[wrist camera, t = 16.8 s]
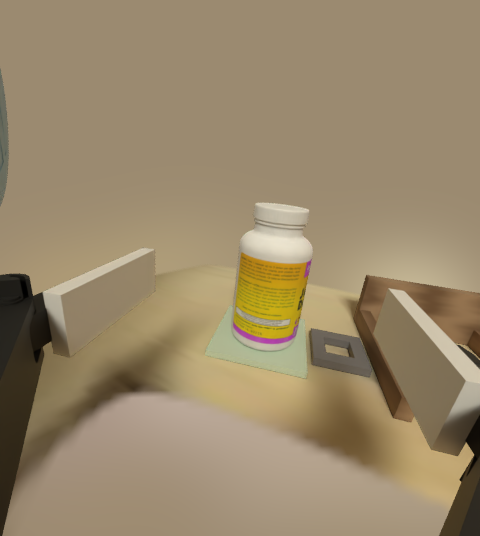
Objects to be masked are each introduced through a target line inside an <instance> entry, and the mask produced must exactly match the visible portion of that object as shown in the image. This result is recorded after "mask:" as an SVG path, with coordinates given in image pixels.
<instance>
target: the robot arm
mask: <svg viewBox="0 0 480 536" xmlns="http://www.w3.org/2000/svg"><path fill="white" fill-rule="evenodd" d="M7 173H8V123H7V111H6V101H5V94H4V86H3V81H2V75H1V70H0V206H1V203H2V200H3V197H4V193H5V188H6V183H7ZM154 292H155V250H154V249H149V248H141V249H139V250H137V251H134V252H132V253H130V254H127V255H125V256H123V257H121V258H118V259H116V260H114V261H111V262H109V263H107V264H105V265H102V266H100V267H98V268H95V269H93V270H91V271H89V272H86V273H84V274H82V275H80V276H77V277H75V278H73V279H70V280H68V281H66V282H63V283H61V284H59V285H57V286H54V287H52V288H50V289H47V290H45V291H43V292H42V293H39V294H37V295H35V296H33V294H32V289H31V284H30V278H29V276H27V275H25V274H6V275H0V536H2V534H3V530H4V525H5V521H6V517H7V512H8V508H9V504H10V500H11V495H12V491H13V487H14V482H15V478H16V474H17V469H18V465H19V461H20V457H21V452H22V448H23V444H24V439H25V435H26V431H27V426H28V422H29V418H30V414H31V409H32V405H33V401H34V396H35V392H36V388H37V383H38V379H39V375H40V370H41V366H42V362H43V358H44V351H43V346H44V345H46V344H47V343H49V342H50V341H51V342H52V348H53V353H54V354H57V355H61V356H65V357H69V358H70V357H72V356H73V355H74V354H76V353H77V352H78V351H79V350H81V349H82V348H83V347H84V346H86V345H87V344H88V343H90V342H91V341H92V340H93V339H95V338H96V337H97V336H99V335H100V334H101V333H102V332H104V331H105V330H106V329H108V328H109V327H110V326H111V325H113V324H114V323H115V322H116V321H118V320H119V319H120V318H122V317H123V316H124V315H125V314H127V313H128V312H129V311H131V310H132V309H133V308H134V307H136V306H137V305H138V304H139V303H141V302H142V301H143V300H145V299H146V298H147V297H148V296H150V295H151V294H152V293H154ZM373 334H374V336H375V338H376V340H377V342H378V344H379V346H380V348H381V350H382V352H383V354H384V356H385V358H386V360H387V362H388V364H389V366H390V368H391V370H392V372H393V374H394V376H395V378H396V380H397V382H398V384H399V386H400V388H401V390H402V392H403V394H404V396H405V398H406V400H407V402H408V404H409V406H410V408H411V410H412V412H413V414H414V416H415V418H416V420H417V422H418V424H419V426H420V428H421V430H422V432H423V434H424V436H425V438H426V440H427V442H428V444H429V446H430V448H431V449H432V450H435V451H439V452H443V453H447V454H451V455H455V456H458V455H459V453H460V452H461V450H462V448H463V446H464V445H465V443H466V442H467V444H468V445H469V447H470V449H471V450H472V452H473V453H474V457H473V458H472V460H471V462H470V463H469V465H468V467H467V468H466V470H465V472H464V473H463V475H462V477H461V478H460V481H461V485H460V487H459V490H458V492H457V494H456V497H455V499H454V502H453V504H452V506H451V509H450V511H449V513H448V516H447V518H446V521H445V523H444V526H443V528H442V530H441V533H440V535H439V536H480V360H479V359H478V358H477V357H476V356H475V355H473V354H472V353H470V352H469V351H467V350H466V349H464V348H463V347H461V346H460V345H456V344H455V343H454V342H453V341H452V340H451V339H450V338H449V337H448V336H447V335H446V334H445V333H444V332H443V331H442V330H441V329H440V328H439V327H438V326H437V324H436V323H435V322H434V321H433V320H432V319H431V318H430V317H429V316H428V315H427V314H426V313H425V312H424V311H423V310H422V309H421V308H420V307H419V306H418V305H417V304H416V303H415V302H414V301H413V300H412V299H411V298H410V297H409V296H408V294H407V293H406V292H405V291H402V290H396V289H390V288H388V290H387V293H386V296H385V299H384V302H383V305H382V308H381V312H380V315H379V318H378V321H377V324H376V327H375V330H374V333H373Z"/></svg>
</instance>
